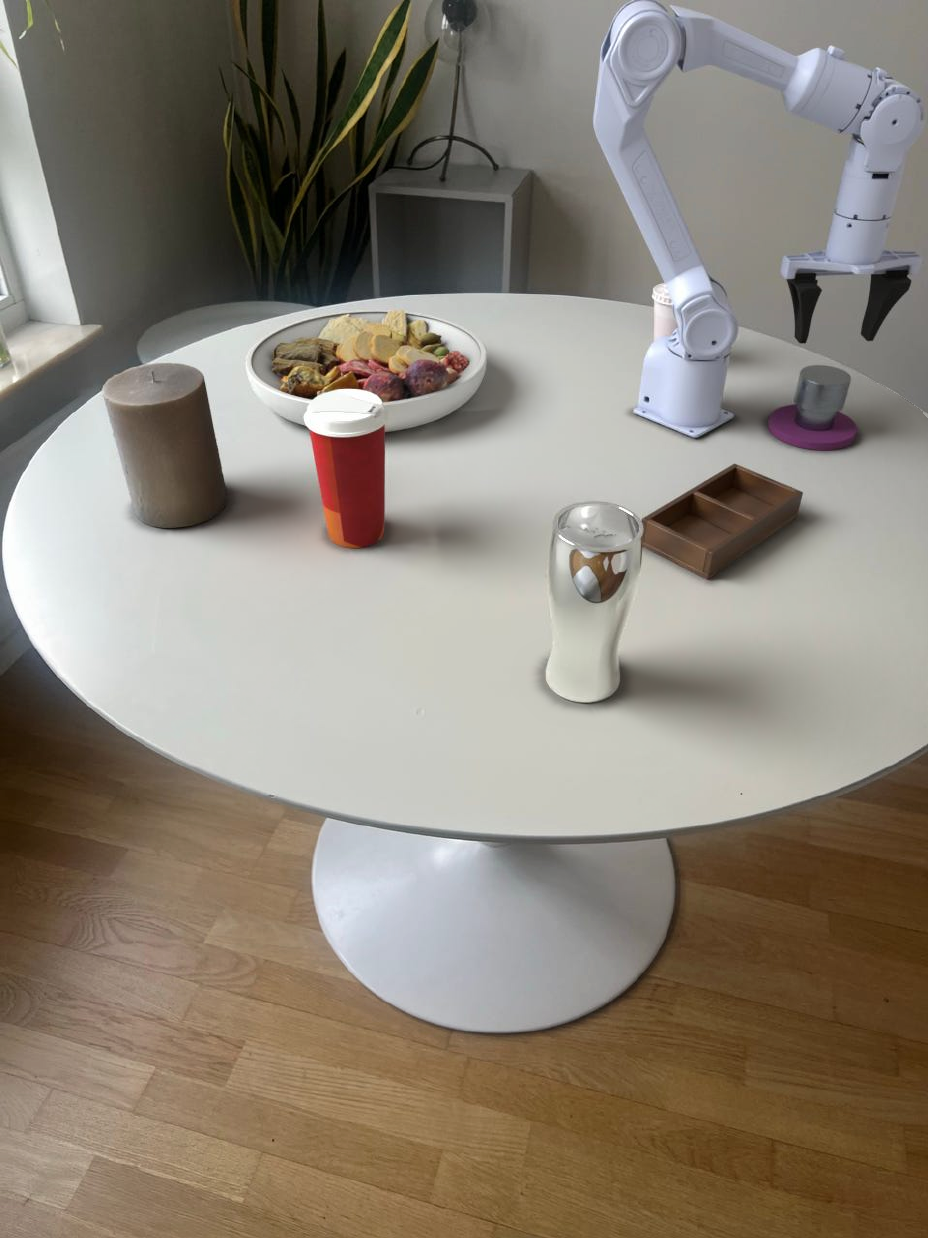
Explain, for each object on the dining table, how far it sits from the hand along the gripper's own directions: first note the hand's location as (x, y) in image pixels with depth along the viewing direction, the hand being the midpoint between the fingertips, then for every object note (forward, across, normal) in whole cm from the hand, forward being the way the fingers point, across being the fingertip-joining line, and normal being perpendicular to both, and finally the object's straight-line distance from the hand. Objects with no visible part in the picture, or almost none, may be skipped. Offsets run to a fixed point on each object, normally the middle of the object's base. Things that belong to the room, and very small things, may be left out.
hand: (833, 338), depth 106 cm
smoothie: (+10, -14, +19) cm, 25 cm away
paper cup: (+10, -54, -22) cm, 59 cm away
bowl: (+10, -54, +11) cm, 56 cm away
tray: (+10, -17, -23) cm, 31 cm away
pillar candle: (+9, -73, -16) cm, 75 cm away
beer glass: (+10, -34, -44) cm, 57 cm away
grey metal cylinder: (+9, -1, -2) cm, 10 cm away
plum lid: (+10, -1, -2) cm, 11 cm away
